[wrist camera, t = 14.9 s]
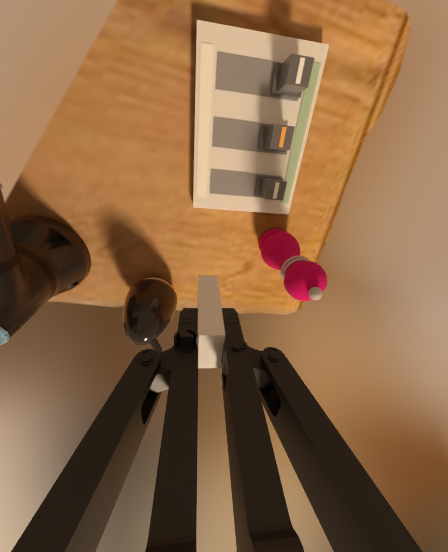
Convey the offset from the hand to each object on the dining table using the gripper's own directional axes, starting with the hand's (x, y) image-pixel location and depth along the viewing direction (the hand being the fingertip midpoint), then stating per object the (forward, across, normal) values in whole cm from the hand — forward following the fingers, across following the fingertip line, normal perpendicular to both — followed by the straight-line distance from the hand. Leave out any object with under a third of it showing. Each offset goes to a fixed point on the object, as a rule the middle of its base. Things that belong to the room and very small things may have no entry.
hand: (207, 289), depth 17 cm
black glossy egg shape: (+27, -10, -18) cm, 34 cm away
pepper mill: (+27, +15, -5) cm, 31 cm away
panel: (+26, +7, +13) cm, 30 cm away
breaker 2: (+24, +11, +20) cm, 33 cm away
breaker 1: (+24, +11, +6) cm, 27 cm away
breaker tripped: (+24, +10, +13) cm, 29 cm away
